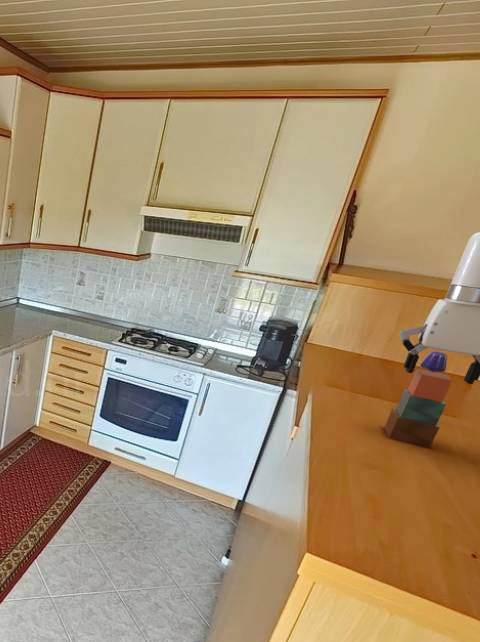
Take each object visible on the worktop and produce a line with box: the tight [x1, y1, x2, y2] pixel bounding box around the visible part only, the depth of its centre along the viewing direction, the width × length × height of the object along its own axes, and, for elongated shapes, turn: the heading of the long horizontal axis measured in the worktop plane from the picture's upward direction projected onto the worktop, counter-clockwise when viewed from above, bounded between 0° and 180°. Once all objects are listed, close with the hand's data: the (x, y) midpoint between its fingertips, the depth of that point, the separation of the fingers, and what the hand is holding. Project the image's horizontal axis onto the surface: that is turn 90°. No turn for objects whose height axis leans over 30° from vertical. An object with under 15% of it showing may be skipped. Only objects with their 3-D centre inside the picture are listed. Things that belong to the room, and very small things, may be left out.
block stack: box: [383, 388, 447, 449], centre depth 107 cm, size 7×7×10 cm
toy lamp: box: [419, 350, 448, 373], centre depth 120 cm, size 5×5×17 cm
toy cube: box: [407, 368, 453, 402], centre depth 105 cm, size 5×5×5 cm
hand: (437, 376), depth 103 cm, fingers open, 9 cm apart
